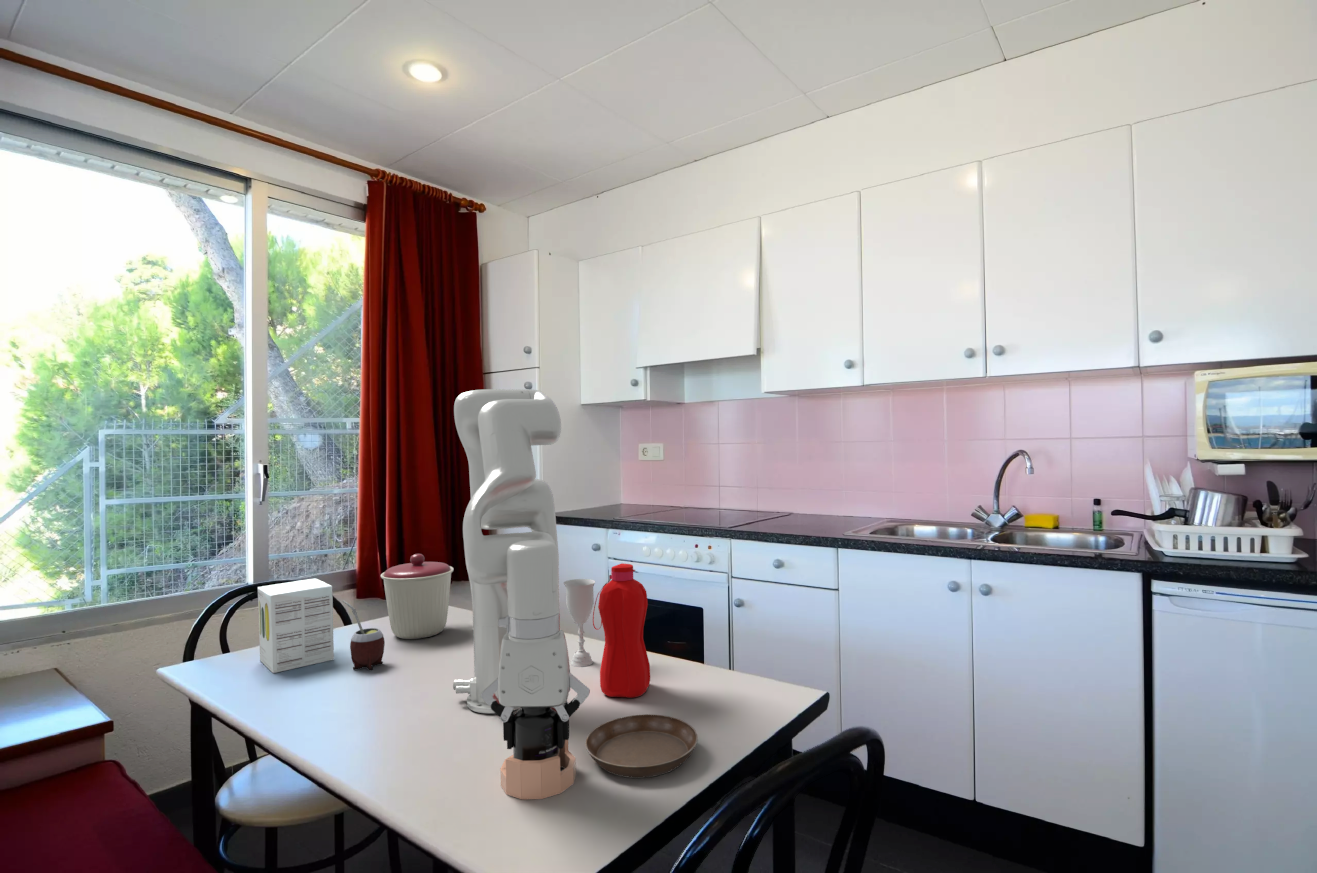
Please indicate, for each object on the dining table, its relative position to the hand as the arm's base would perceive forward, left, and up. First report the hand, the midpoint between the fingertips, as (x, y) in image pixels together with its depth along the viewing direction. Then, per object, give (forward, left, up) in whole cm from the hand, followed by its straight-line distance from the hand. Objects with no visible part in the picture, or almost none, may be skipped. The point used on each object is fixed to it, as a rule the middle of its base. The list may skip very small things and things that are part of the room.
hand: (536, 743), depth 99 cm
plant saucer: (+15, +6, -6) cm, 17 cm away
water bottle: (+10, +33, -5) cm, 35 cm away
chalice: (0, +50, -5) cm, 51 cm away
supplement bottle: (0, 0, -5) cm, 5 cm away
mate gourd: (-49, +51, -5) cm, 71 cm away
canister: (-46, +76, -5) cm, 89 cm away
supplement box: (-68, +57, -5) cm, 89 cm away
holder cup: (0, -1, -5) cm, 5 cm away
